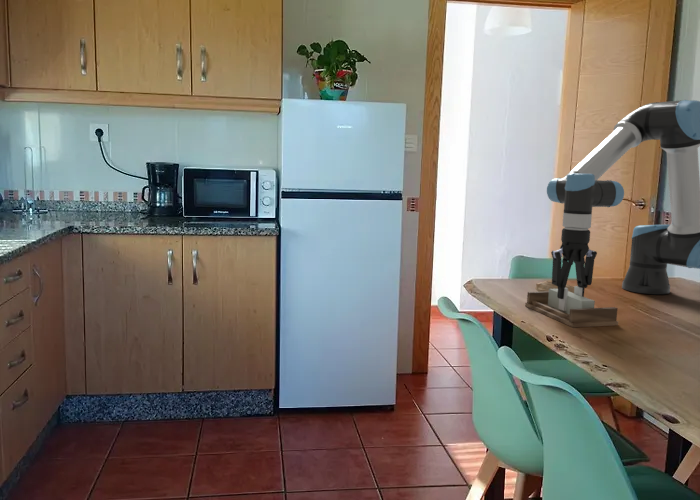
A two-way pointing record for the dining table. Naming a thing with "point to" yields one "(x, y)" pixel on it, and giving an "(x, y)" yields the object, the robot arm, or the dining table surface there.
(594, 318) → the cradle rack
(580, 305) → the greenware bar
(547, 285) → the pottery oil lamp
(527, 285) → the dining table surface
